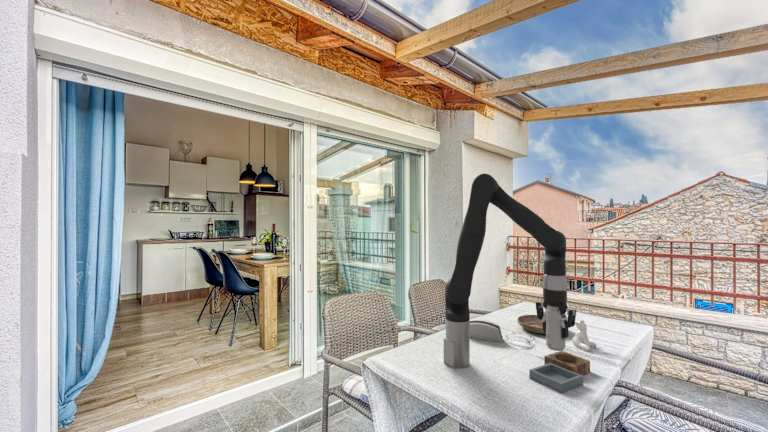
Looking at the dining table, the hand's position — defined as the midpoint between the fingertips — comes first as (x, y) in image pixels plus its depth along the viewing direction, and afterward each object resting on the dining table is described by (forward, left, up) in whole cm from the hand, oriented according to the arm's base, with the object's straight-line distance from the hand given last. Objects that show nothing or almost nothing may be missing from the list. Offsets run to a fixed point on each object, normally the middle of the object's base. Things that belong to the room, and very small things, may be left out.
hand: (555, 335), depth 117 cm
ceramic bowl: (+46, +38, -16) cm, 62 cm away
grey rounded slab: (+10, +43, -16) cm, 47 cm away
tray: (0, 0, -16) cm, 16 cm away
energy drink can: (0, 0, -5) cm, 5 cm away
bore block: (+13, +4, -16) cm, 21 cm away
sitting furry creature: (+41, +14, -16) cm, 46 cm away
